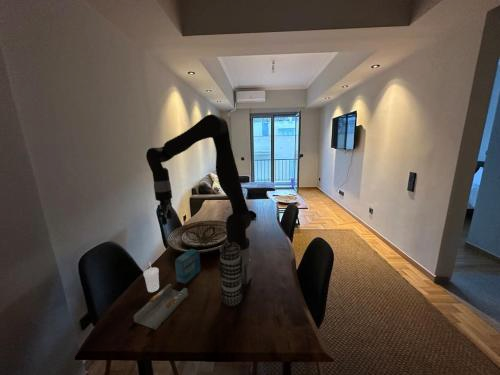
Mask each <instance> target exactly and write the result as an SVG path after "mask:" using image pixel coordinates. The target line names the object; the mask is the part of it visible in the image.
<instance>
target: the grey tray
mask: <svg viewBox="0 0 500 375" xmlns="http://www.w3.org/2000/svg"><path fill="white" fill-rule="evenodd" d="M188 296H189V293H188V288H186V287H183V288H182V289H181V290H180V291H179V290H176V289H173V285H172V284H171V283H168V284H167V285H166V286H165V287H164V288H163V289H161V290H160V291H159V292H158V293H157V294H155V295H154V296H152V297H151V298H150V300H149V301H148V302H147V303H145V305H143V306H142V307H141V308H140V309H139V310H138V311H137V312H136V313H135V314H134V315H133V320H134V321H133V322H134V323H136V324H137V325H142V326H143V327H146V328H149V329H152V330H155V331H156V330H157V329H158V328H159V327H160V326H161V325H162V324H163V323H164V322H165V320H166V319H167V318H168V317H169V316H170V315H171V314H172V313H173V312H174V311H175V310H176V308H178V306H180V304H181V303H182V302H183V301H184V300H185V299H186V298H187V297H188ZM162 322H163V323H162ZM161 323H162V324H161Z"/></svg>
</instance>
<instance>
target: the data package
mask: <svg viewBox="0 0 500 375" xmlns="http://www.w3.org/2000/svg"><path fill="white" fill-rule="evenodd" d="M174 265H175V276H176V281H177V282H178V283H182V284H184V285H186V284H187V283H188V282H189V281H191V280H192V279H193V278H195V276H197V275H198V274H199V273H200V272H201V256H200V251H199V250H197V249H193V248H190V249H188V250H187V251H186V252H184V253H182V254H181V255H179V256H178V257H177V258H176V259H175V262H174Z"/></svg>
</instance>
